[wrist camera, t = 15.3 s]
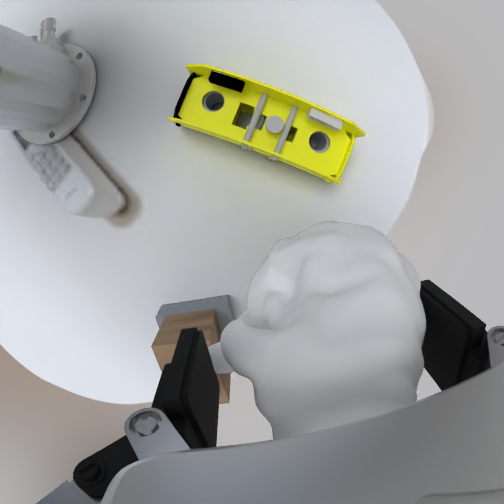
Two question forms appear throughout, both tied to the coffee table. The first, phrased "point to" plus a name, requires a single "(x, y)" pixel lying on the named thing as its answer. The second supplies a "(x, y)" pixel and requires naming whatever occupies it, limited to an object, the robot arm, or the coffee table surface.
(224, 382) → the walnut brick
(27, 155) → the coffee table surface
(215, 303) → the plinth
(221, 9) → the coffee table surface
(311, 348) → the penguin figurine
